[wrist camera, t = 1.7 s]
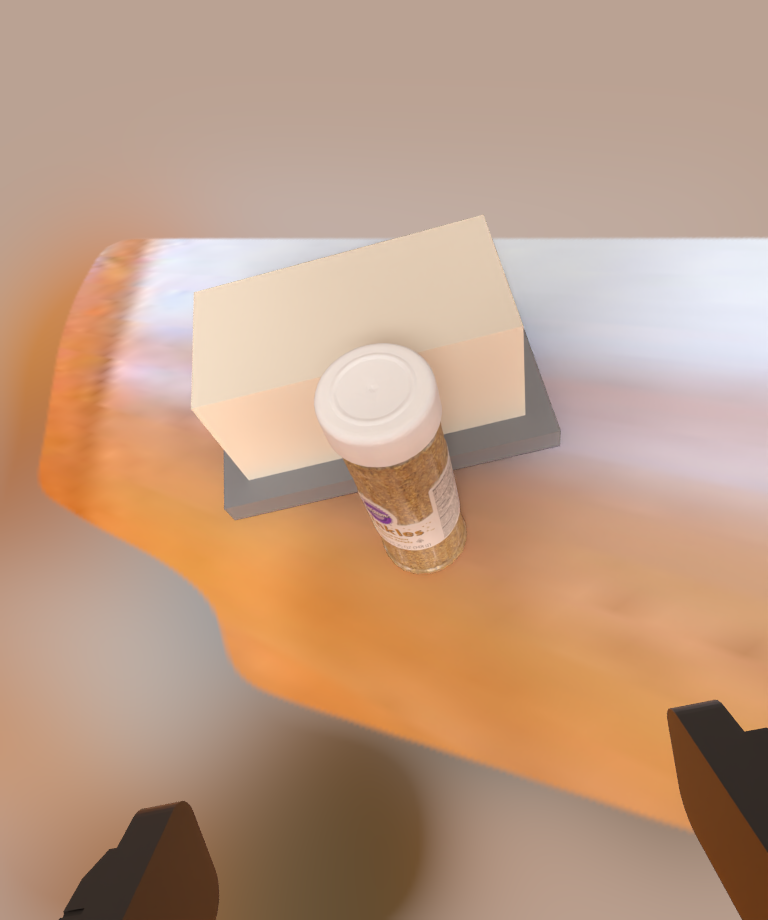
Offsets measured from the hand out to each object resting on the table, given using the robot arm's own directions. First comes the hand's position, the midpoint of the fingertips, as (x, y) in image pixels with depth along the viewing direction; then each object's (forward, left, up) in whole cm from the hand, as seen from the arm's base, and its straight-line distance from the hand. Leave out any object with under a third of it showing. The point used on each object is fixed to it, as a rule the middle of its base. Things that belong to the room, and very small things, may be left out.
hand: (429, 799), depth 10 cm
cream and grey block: (+2, -23, -19) cm, 30 cm away
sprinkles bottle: (0, -13, -20) cm, 24 cm away
